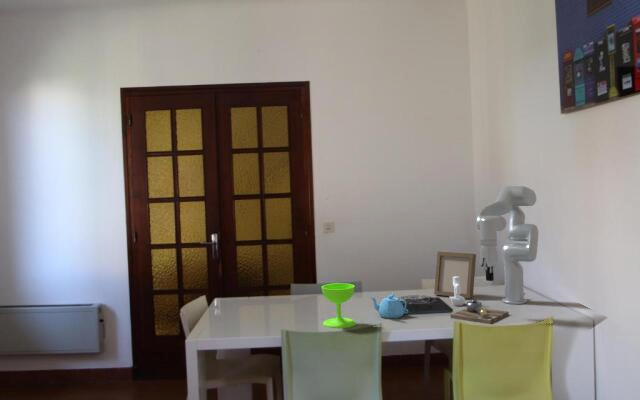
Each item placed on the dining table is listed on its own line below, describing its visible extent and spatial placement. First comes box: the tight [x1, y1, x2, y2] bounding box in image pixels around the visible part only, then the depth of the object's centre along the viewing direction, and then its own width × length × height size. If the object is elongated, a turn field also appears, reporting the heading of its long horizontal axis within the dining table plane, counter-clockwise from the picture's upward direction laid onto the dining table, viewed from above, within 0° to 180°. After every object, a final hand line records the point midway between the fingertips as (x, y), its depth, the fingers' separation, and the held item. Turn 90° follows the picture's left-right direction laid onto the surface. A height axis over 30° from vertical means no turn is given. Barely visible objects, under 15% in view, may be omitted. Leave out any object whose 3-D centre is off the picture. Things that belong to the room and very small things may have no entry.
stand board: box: [450, 307, 510, 325], centre depth 273 cm, size 21×20×2 cm
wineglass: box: [321, 282, 357, 329], centre depth 268 cm, size 16×16×18 cm
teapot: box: [369, 291, 409, 319], centre depth 280 cm, size 15×15×10 cm
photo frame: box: [433, 251, 477, 300], centre depth 322 cm, size 15×22×25 cm
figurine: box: [448, 276, 466, 307], centre depth 299 cm, size 7×9×15 cm
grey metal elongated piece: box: [466, 299, 487, 316], centre depth 272 cm, size 19×7×5 cm, turn 2°
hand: (489, 280), depth 272 cm, fingers closed
